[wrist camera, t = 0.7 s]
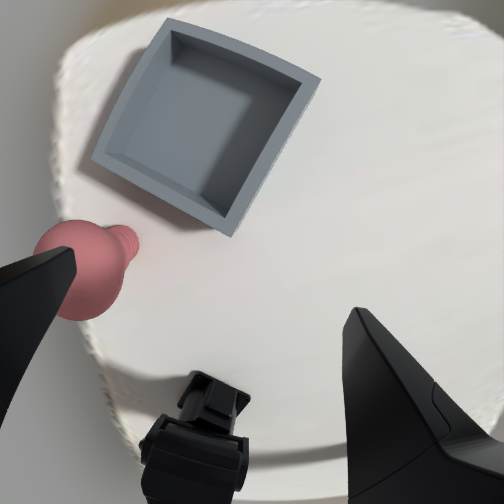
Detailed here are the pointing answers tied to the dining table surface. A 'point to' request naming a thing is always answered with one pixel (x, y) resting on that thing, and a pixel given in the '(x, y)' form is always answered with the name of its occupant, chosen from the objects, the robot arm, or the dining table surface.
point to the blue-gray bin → (204, 122)
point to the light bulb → (92, 264)
